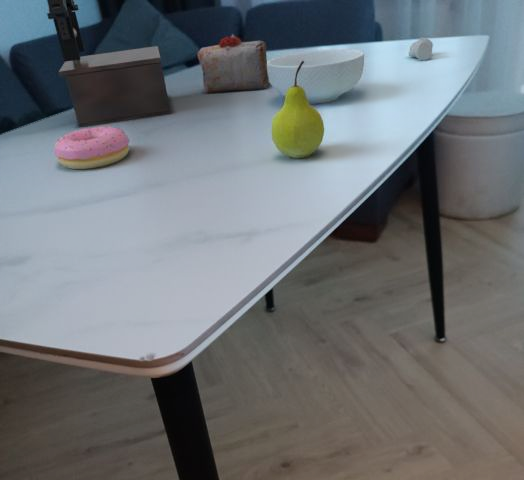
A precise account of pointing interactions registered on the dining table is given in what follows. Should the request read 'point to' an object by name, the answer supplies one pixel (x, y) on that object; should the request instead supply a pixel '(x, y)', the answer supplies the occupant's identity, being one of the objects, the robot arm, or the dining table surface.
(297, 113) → the fruit
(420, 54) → the pale two-lobed sculpture
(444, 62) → the dining table surface
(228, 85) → the food item
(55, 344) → the dining table surface
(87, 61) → the lid
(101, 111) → the chest
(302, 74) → the cereal bowl
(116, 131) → the doughnut
